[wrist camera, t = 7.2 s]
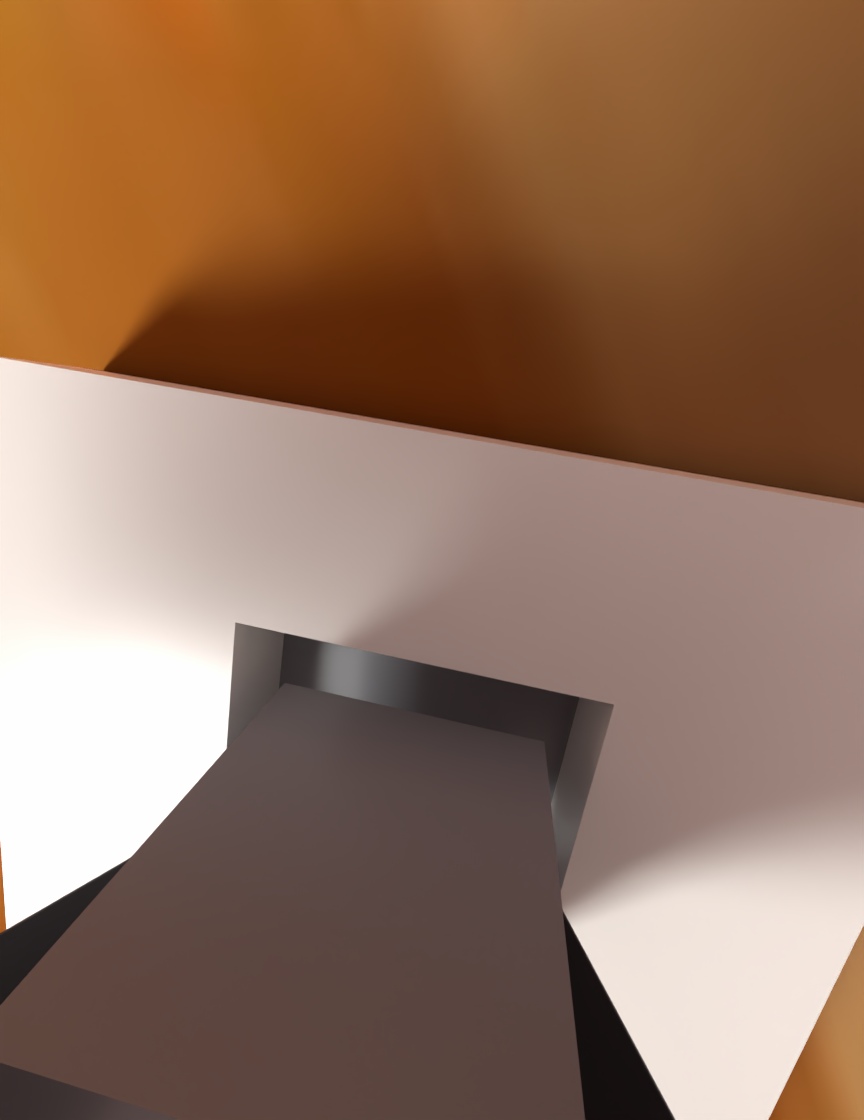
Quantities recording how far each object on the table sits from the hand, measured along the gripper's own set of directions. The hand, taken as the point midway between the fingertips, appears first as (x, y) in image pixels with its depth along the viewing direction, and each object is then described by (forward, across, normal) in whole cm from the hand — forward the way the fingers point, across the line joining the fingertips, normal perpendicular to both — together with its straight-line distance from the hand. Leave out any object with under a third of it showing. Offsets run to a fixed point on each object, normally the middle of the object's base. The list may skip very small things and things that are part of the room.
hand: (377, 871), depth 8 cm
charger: (+1, 0, 0) cm, 1 cm away
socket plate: (+3, 0, +3) cm, 4 cm away
